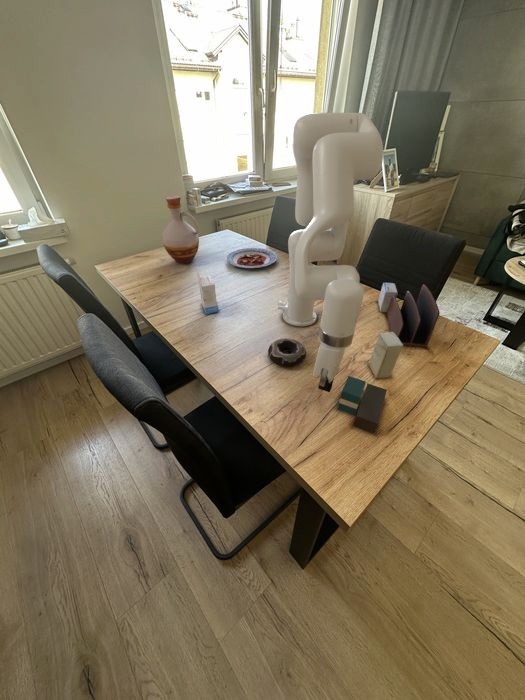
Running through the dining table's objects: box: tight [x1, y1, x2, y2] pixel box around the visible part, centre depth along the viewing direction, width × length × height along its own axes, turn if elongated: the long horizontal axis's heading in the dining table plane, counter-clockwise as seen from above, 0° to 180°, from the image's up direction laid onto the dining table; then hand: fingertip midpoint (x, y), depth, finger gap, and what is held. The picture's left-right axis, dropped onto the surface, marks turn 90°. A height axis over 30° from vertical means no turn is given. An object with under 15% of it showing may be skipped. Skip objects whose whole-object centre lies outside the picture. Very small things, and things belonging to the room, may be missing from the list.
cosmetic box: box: [368, 331, 404, 379], centre depth 81 cm, size 6×4×12 cm
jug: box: [161, 195, 200, 264], centre depth 140 cm, size 20×18×30 cm
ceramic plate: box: [226, 247, 278, 269], centre depth 148 cm, size 26×26×3 cm
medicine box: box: [377, 282, 398, 313], centre depth 110 cm, size 8×4×9 cm, turn 168°
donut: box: [267, 337, 307, 368], centre depth 89 cm, size 12×12×4 cm
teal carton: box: [337, 375, 367, 417], centre depth 73 cm, size 8×6×8 cm
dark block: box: [352, 382, 388, 435], centre depth 72 cm, size 5×12×4 cm, turn 152°
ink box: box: [196, 270, 219, 315], centre depth 108 cm, size 8×5×15 cm, turn 20°
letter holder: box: [386, 284, 441, 348], centre depth 97 cm, size 10×20×14 cm, turn 169°
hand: (324, 388), depth 76 cm, fingers closed
